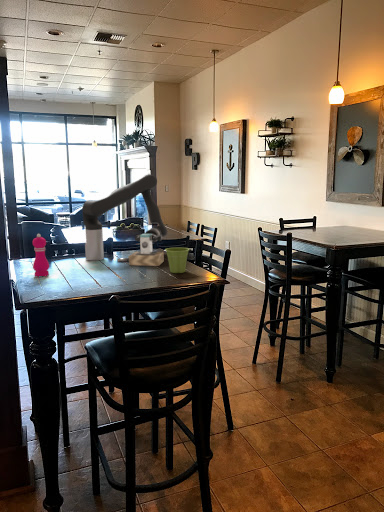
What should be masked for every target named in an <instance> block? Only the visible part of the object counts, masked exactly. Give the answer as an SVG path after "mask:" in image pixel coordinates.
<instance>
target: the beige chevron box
mask: <svg viewBox="0 0 384 512" xmlns="http://www.w3.org/2000/svg"><path fill="white" fill-rule="evenodd" d="M164 255H165V252H164V251H152V253H151V254H141V251H134V252H132V253H131V254H129V255H128V256H129V262H128V264H129V266H148V267H149V266H152V267H153V266H154V267H155V266H157V267H158V266H160V265H161V264H162V263H163V262H164V260H165V259H164V258H165V257H164Z"/></svg>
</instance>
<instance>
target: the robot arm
mask: <svg viewBox="0 0 384 512" xmlns="http://www.w3.org/2000/svg"><path fill="white" fill-rule="evenodd" d="M157 184H158V180H157V177H156V176H155V175H153V174H149V173H148V174H145V175H144V176H142V177H141V178H139V179H138V180H135V181H133V182H131V183H128V184H126V185H123V186H120V187H118V188H116V189H114V190H113V191H112V192H111V193H110V194H109V195H107V197H103V198H101V199H98V200H91V199H90V200H86V201H85V202H84V203H83V204H82V219H83V224H84V226H85V227H84V229H85V243H84V249H85V251H84V252H85V261H102V260H104V259H105V258H104V237H103V236H104V235H103V224H102V223H101V222H100V221H99V217H101V216H103V215H105V214H106V213H107V212H109V211H110V210H112V209H115V208H117V207H119V206H121V205H124V204H126V203H128V202H129V201H131V200H133V199H134V198H136V197H137V196H138V195H140V194H141V196H142V198H143V200H144V203H145V207H146V209H147V213H148V218H149V221H150V224H155V225H156V226H153V227H151V228H150V229H148V230H146V231H145V233H144V234H152V244H154V243H156V242H160V241H162V240H163V237H166V236H167V234H168V229H167V226H166V225H165V223H164V222H163V219H162V217H161V216H162V215H161V212H160V208H159V206H158V205H157V203H156V202H155V201H154V198H153V196H152V190H153V189H155V188H156V186H157ZM157 224H158V225H157ZM140 235H141V234H136V235H135V236H134V240H135V241H136V242H140Z"/></svg>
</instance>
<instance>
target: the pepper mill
mask: <svg viewBox="0 0 384 512" xmlns="http://www.w3.org/2000/svg"><path fill="white" fill-rule="evenodd" d="M46 245H47V240H46V238H44V237H43V236H41V234H40V233H37V234H36V237H35V238H33V240H32V246H33V247H34V248H33V249H34V250H33V251H35V258H34V261H33V264H32V265H33V266H32V269H33V270H34V271H35V272H34V276H38V277H37V278H40V277H39V276H45V277H48V276H49V275H50V273H49V268H50V264H49V261H48V259H47V257H46V250H47V249H46V247H45V246H46ZM47 275H48V276H47Z"/></svg>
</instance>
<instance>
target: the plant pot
mask: <svg viewBox="0 0 384 512" xmlns="http://www.w3.org/2000/svg"><path fill="white" fill-rule="evenodd" d="M164 251H165V252H166V256H167V260H168V262H167V263H168V266H169V272H170V273H171V274H182V273H185V272H186V267H187V261H188V260H187V259H188V255H189V251H190V248H188V247H169V248H165V249H164Z"/></svg>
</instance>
